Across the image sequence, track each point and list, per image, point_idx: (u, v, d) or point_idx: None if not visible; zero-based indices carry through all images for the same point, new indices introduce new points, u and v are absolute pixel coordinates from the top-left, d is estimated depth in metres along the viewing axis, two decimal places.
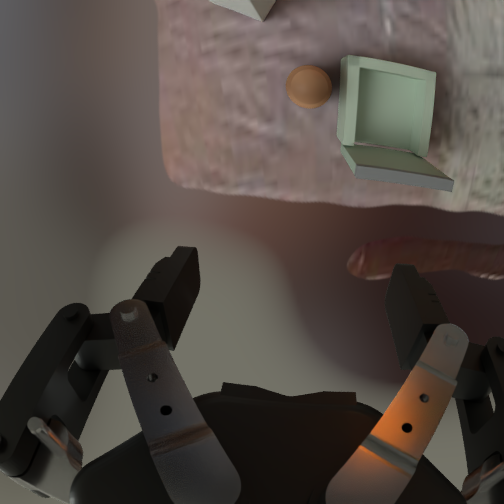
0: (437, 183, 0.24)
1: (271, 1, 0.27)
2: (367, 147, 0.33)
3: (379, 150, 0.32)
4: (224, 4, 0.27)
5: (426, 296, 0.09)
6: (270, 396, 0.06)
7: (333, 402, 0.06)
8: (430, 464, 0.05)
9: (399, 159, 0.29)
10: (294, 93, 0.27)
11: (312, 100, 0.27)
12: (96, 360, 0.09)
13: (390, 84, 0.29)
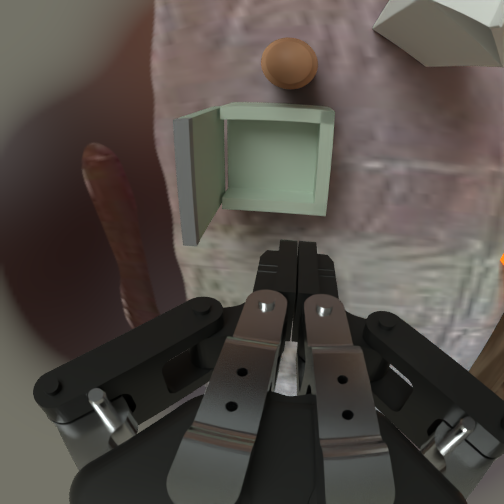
0: (188, 225, 0.23)
1: (399, 40, 0.22)
2: (221, 136, 0.29)
3: (220, 151, 0.29)
4: None
5: (314, 269, 0.11)
6: (270, 396, 0.06)
7: None
8: (430, 464, 0.05)
9: (211, 174, 0.26)
10: (279, 45, 0.20)
11: (271, 65, 0.21)
12: None
13: (302, 161, 0.30)
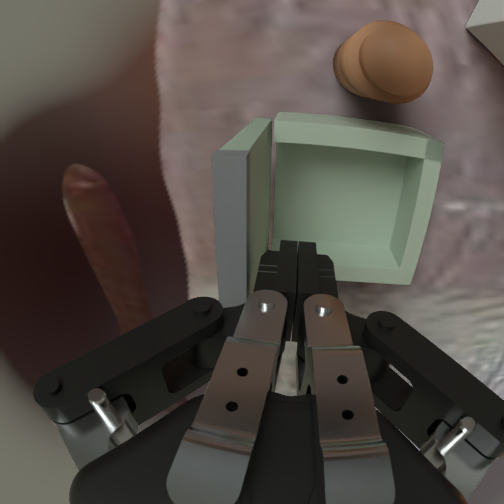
0: None
1: (503, 49, 0.13)
2: (269, 166, 0.19)
3: (268, 190, 0.19)
4: None
5: (314, 269, 0.11)
6: (270, 396, 0.06)
7: None
8: (430, 464, 0.05)
9: (261, 235, 0.17)
10: (384, 30, 0.11)
11: (372, 61, 0.12)
12: None
13: (381, 205, 0.20)
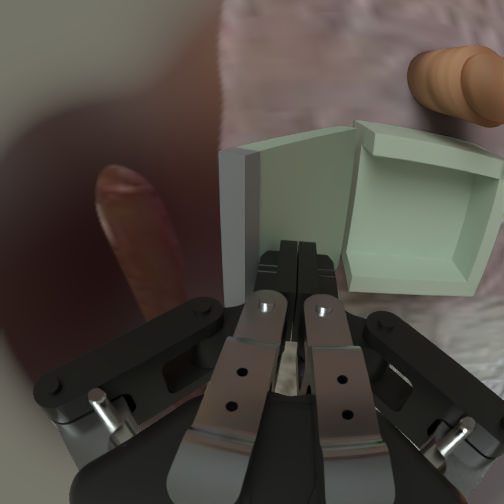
0: None
1: None
2: (346, 178, 0.18)
3: (338, 202, 0.18)
4: None
5: (314, 269, 0.11)
6: (270, 396, 0.06)
7: None
8: (430, 464, 0.05)
9: None
10: (488, 57, 0.09)
11: (478, 86, 0.10)
12: None
13: (449, 219, 0.19)
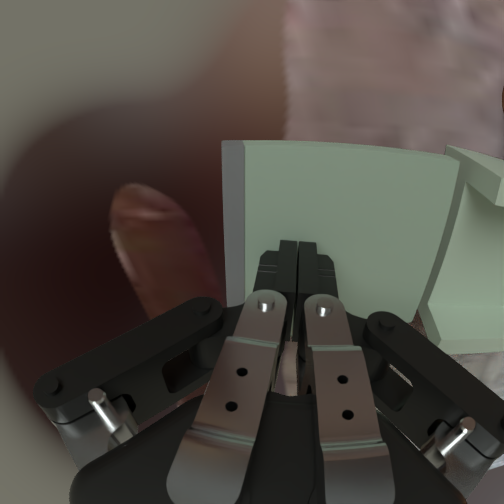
0: None
1: None
2: (432, 219, 0.13)
3: (412, 242, 0.14)
4: None
5: (314, 269, 0.11)
6: (270, 396, 0.06)
7: None
8: (430, 464, 0.05)
9: (344, 270, 0.14)
10: None
11: None
12: None
13: None
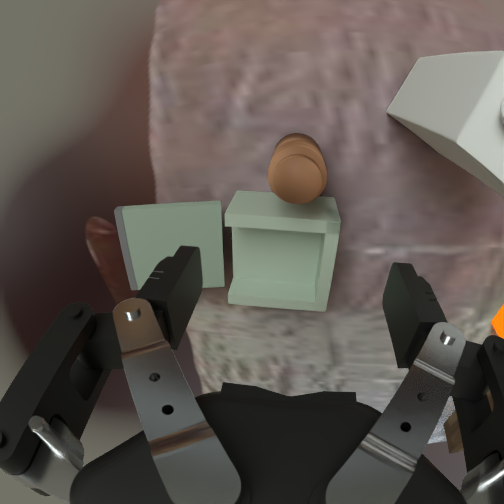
0: None
1: (414, 131, 0.24)
2: (212, 233, 0.31)
3: (204, 244, 0.31)
4: (417, 75, 0.21)
5: (423, 295, 0.09)
6: (270, 396, 0.06)
7: (333, 402, 0.06)
8: (430, 464, 0.05)
9: None
10: (287, 161, 0.22)
11: (278, 184, 0.23)
12: (98, 359, 0.09)
13: (305, 257, 0.32)
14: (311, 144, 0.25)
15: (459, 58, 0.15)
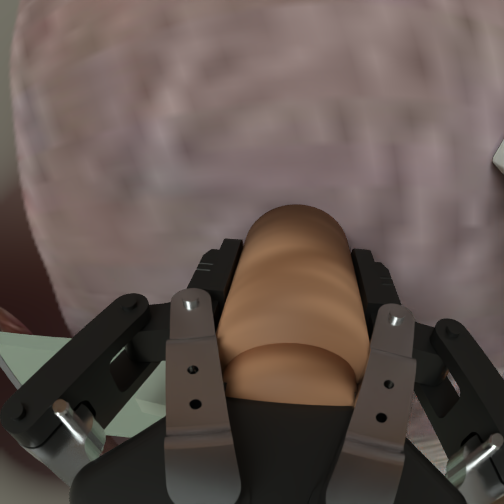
0: None
1: None
2: None
3: None
4: None
5: (376, 278, 0.10)
6: None
7: None
8: (430, 464, 0.05)
9: None
10: (254, 391, 0.06)
11: None
12: (152, 351, 0.09)
13: None
14: (334, 265, 0.09)
15: None
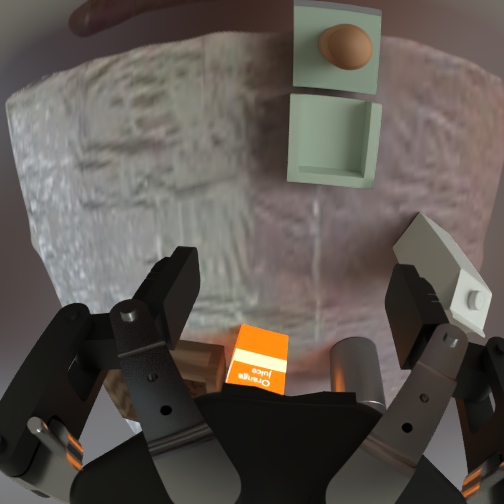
0: (310, 1, 0.25)
1: (414, 232, 0.39)
2: (351, 83, 0.30)
3: (341, 74, 0.30)
4: (446, 235, 0.38)
5: (426, 296, 0.09)
6: (270, 396, 0.06)
7: (333, 402, 0.06)
8: (430, 464, 0.05)
9: None
10: (341, 31, 0.20)
11: (334, 49, 0.22)
12: (95, 360, 0.09)
13: (325, 157, 0.36)
14: None
15: (471, 265, 0.33)
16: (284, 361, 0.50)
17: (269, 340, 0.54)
